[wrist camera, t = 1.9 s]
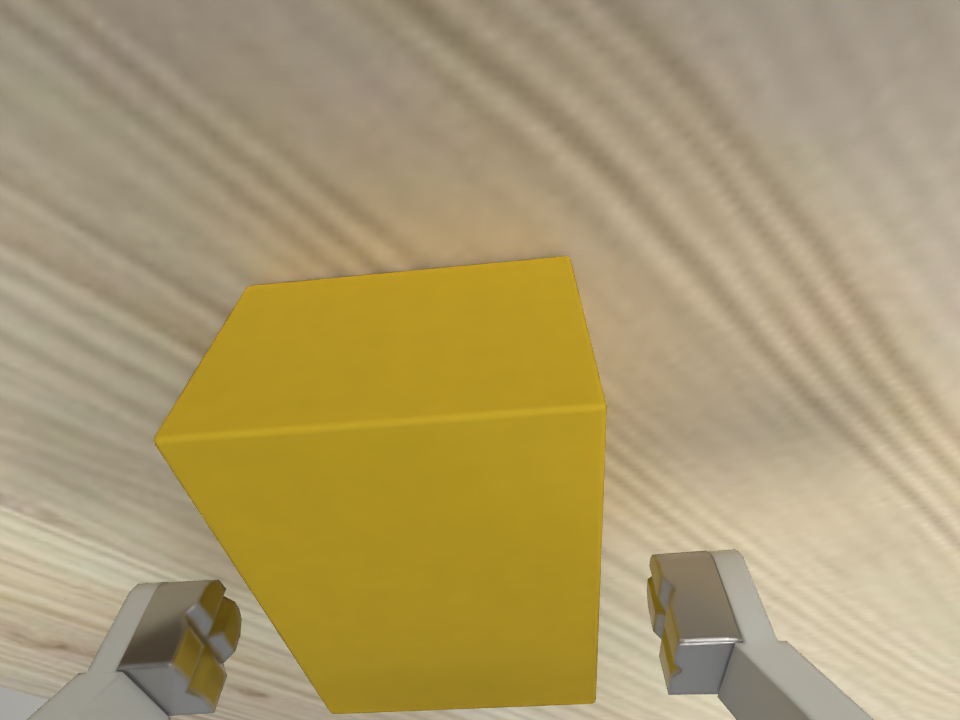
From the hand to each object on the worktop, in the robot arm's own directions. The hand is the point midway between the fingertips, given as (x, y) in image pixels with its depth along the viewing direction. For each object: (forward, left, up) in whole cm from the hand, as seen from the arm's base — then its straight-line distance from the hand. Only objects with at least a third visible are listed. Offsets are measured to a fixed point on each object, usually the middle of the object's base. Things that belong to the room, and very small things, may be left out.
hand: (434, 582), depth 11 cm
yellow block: (0, 0, -3) cm, 3 cm away
